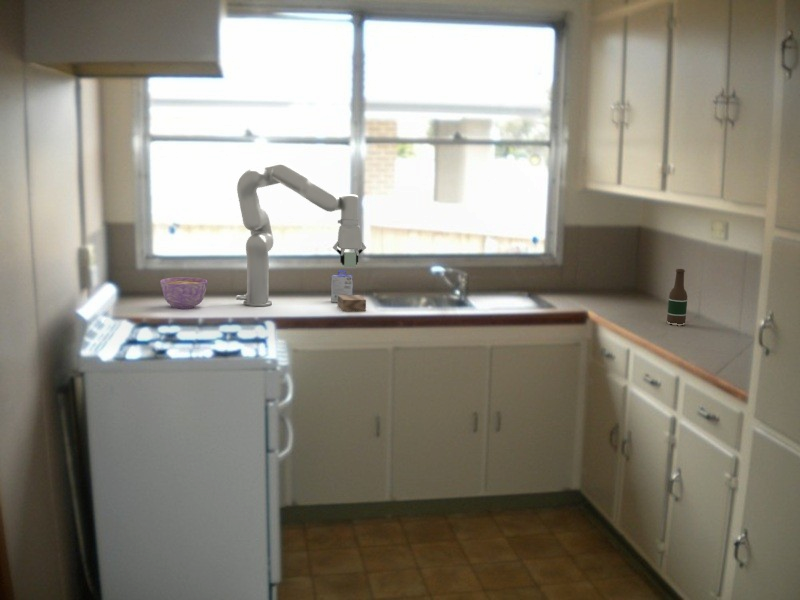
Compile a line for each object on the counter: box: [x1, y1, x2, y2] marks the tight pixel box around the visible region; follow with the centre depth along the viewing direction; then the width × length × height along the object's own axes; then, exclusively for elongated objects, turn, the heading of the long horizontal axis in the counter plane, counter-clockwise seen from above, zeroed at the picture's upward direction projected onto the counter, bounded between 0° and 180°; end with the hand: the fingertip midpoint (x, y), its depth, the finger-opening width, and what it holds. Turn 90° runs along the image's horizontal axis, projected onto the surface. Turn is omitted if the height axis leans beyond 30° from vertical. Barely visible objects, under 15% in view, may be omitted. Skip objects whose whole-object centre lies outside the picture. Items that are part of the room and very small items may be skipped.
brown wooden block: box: [337, 294, 367, 312], centre depth 400 cm, size 10×13×5 cm
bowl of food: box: [159, 276, 209, 310], centre depth 389 cm, size 20×20×12 cm
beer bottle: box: [666, 268, 688, 324], centre depth 387 cm, size 8×8×24 cm
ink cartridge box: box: [330, 269, 354, 303], centre depth 416 cm, size 10×6×14 cm, turn 94°
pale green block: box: [342, 251, 357, 268], centre depth 396 cm, size 5×5×6 cm
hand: (349, 263), depth 396 cm, fingers closed on pale green block, 5 cm apart
